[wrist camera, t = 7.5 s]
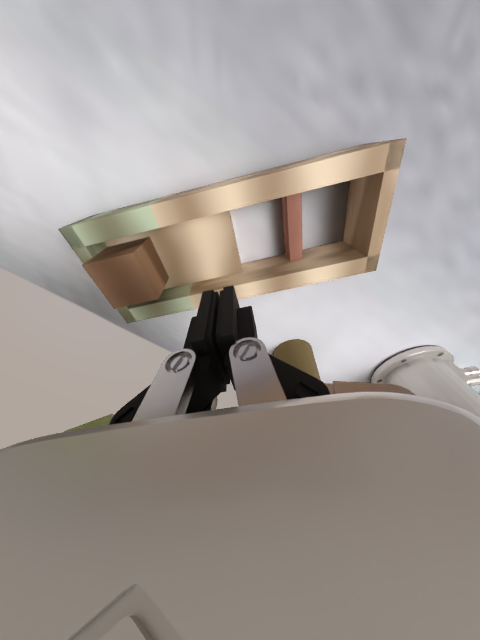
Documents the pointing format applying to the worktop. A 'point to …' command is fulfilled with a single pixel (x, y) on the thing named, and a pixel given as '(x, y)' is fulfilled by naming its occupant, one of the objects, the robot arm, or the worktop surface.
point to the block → (128, 272)
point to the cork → (298, 356)
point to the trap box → (219, 239)
